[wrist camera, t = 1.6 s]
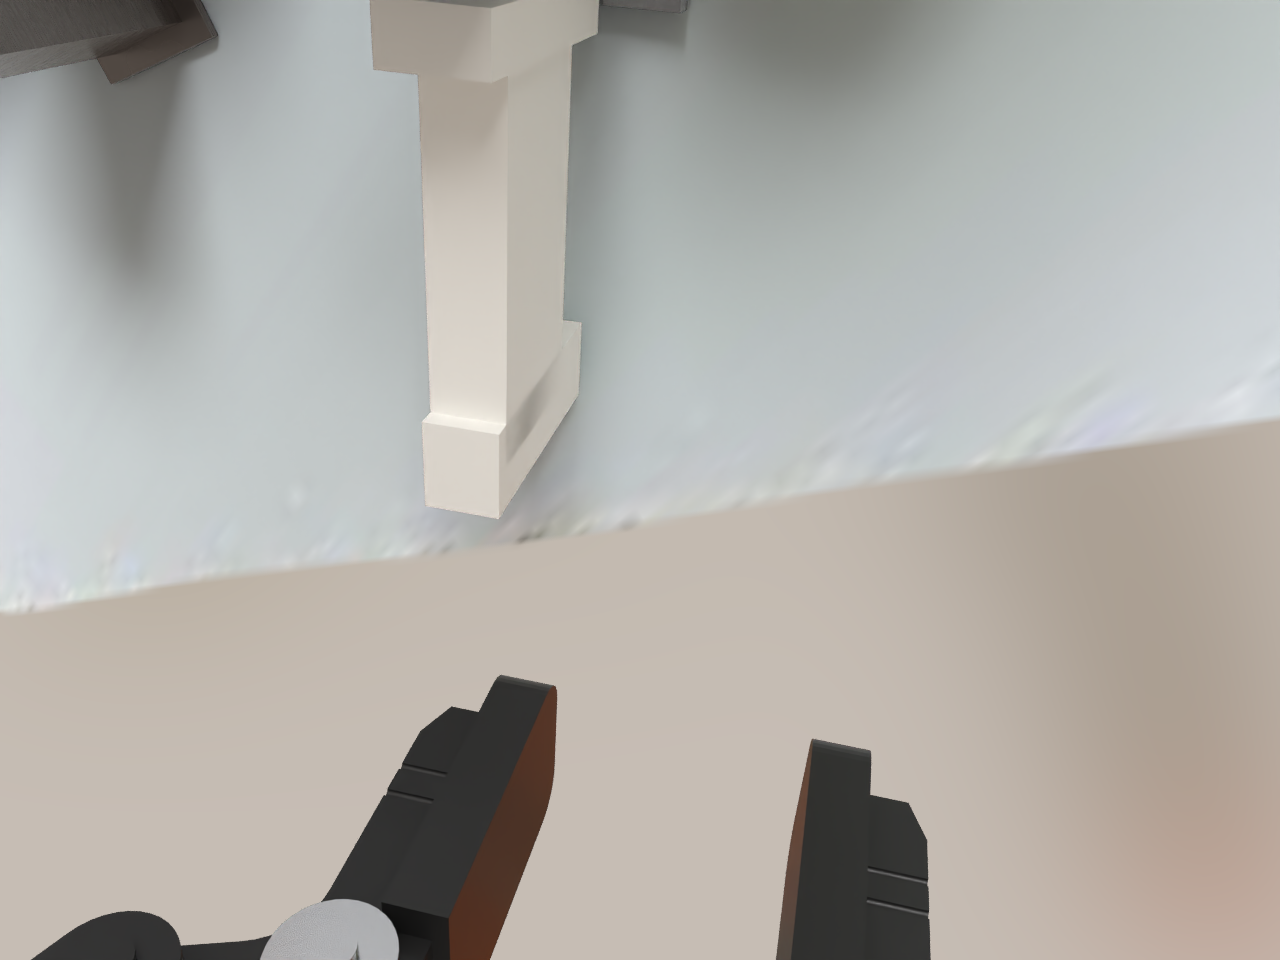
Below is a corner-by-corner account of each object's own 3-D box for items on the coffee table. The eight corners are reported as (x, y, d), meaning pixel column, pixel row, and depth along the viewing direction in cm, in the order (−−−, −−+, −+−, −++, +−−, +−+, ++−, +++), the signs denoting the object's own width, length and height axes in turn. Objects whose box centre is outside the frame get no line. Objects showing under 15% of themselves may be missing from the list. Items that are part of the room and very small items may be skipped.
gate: (515, -33, 25) (369, -4, 18) (605, -25, 24) (491, 8, 18) (512, 383, 30) (399, 526, 23) (585, 395, 30) (493, 544, 23)
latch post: (43, -54, 27) (-195, -40, 21) (145, -111, 26) (-78, -111, 20) (118, 82, 29) (-86, 131, 23) (218, 35, 28) (30, 75, 22)
